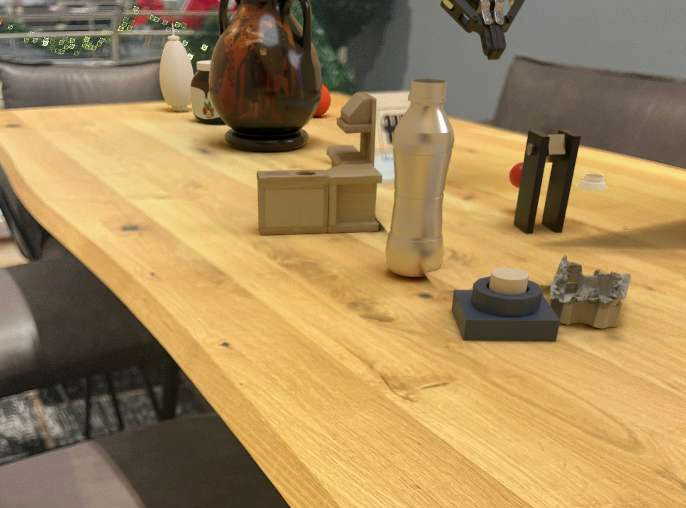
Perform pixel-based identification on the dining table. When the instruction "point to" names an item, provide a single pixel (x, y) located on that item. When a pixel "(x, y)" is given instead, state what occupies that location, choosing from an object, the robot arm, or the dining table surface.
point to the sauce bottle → (175, 74)
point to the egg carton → (587, 295)
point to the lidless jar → (592, 182)
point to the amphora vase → (265, 75)
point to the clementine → (323, 102)
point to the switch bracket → (556, 187)
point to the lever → (553, 155)
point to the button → (508, 281)
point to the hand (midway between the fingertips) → (496, 55)
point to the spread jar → (203, 96)
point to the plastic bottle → (420, 181)
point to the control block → (504, 314)
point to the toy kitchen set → (327, 184)
